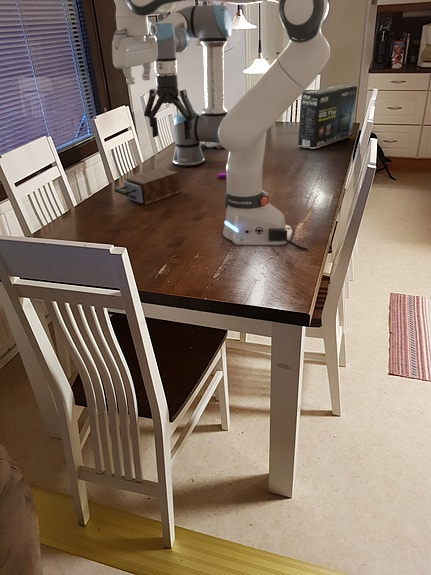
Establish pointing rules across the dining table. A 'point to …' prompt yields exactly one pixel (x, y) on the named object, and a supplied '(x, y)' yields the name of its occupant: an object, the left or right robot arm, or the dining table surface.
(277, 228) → the right robot arm
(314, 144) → the router box
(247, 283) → the dining table surface
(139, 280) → the dining table surface
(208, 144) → the fossil
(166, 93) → the left robot arm
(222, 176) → the handgun
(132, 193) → the drawer
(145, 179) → the cabinet
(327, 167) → the dining table surface
